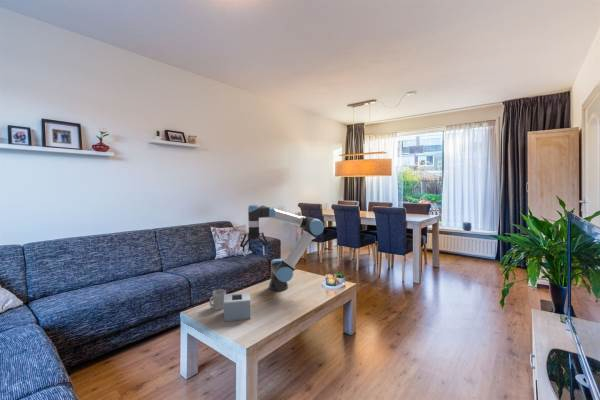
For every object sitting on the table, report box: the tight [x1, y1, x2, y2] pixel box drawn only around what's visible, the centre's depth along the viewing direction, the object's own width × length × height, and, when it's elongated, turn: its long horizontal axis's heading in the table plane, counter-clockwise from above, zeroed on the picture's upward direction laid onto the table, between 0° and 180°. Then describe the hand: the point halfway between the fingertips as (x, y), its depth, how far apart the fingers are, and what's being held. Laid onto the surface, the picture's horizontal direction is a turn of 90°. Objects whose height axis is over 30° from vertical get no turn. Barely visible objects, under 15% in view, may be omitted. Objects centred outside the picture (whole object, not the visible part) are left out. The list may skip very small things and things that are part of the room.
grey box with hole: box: [223, 291, 252, 322], centre depth 186 cm, size 16×13×12 cm
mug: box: [209, 288, 227, 311], centre depth 197 cm, size 12×8×11 cm
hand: (254, 255), depth 214 cm, fingers open, 13 cm apart
